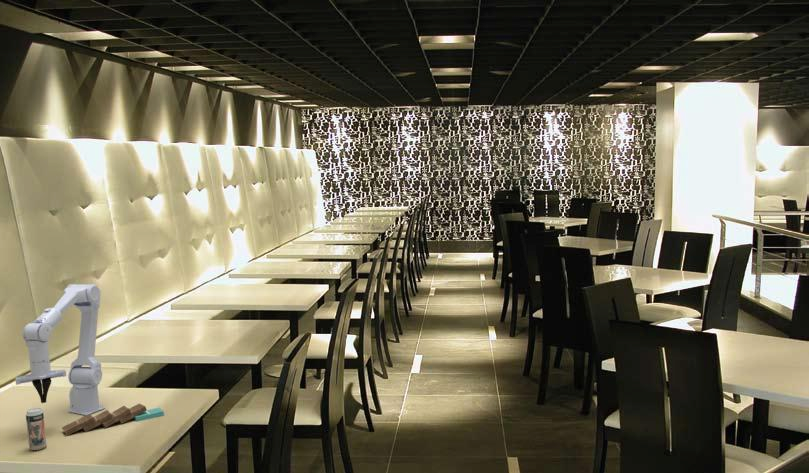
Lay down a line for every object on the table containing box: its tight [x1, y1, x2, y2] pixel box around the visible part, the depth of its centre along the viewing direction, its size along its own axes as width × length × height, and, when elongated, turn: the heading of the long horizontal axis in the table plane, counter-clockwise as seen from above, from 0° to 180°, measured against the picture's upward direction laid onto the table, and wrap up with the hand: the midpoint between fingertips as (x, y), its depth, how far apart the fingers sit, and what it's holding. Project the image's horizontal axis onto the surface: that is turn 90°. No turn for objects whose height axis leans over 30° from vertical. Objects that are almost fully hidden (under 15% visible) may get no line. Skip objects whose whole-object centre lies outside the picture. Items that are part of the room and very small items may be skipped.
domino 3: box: [100, 405, 131, 429], centre depth 257 cm, size 2×5×9 cm
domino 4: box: [116, 403, 148, 424], centre depth 260 cm, size 2×5×9 cm
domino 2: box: [82, 409, 113, 433], centre depth 254 cm, size 2×5×9 cm
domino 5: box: [133, 407, 165, 422], centre depth 263 cm, size 2×5×9 cm
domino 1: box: [62, 413, 95, 437], centre depth 252 cm, size 2×5×9 cm
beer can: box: [25, 407, 48, 452], centre depth 237 cm, size 5×5×12 cm
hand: (43, 402), depth 249 cm, fingers closed
